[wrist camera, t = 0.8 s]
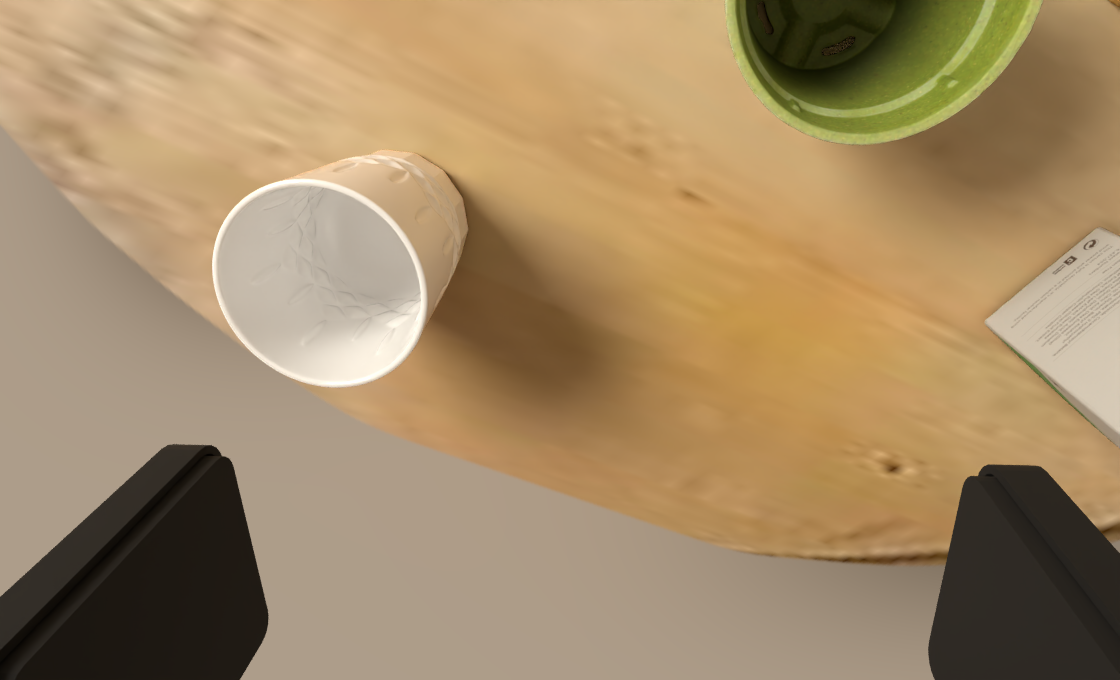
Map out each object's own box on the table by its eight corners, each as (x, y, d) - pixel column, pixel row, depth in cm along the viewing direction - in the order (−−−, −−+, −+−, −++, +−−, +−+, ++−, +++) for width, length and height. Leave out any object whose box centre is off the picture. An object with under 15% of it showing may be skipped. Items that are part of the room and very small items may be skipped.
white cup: (513, 245, 36) (470, 324, 27) (387, 325, 38) (308, 422, 29) (413, 101, 34) (330, 133, 25) (286, 194, 36) (166, 255, 27)
